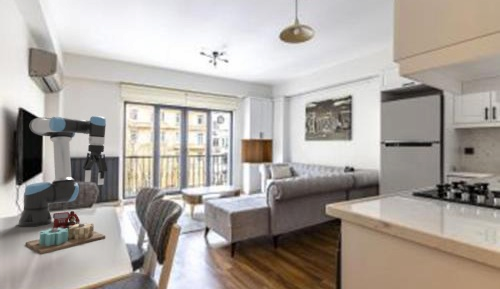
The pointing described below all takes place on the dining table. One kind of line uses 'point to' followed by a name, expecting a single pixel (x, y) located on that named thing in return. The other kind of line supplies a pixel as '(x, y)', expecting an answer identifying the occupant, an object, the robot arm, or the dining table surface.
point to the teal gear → (53, 237)
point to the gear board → (69, 238)
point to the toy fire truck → (65, 220)
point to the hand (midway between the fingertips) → (93, 183)
